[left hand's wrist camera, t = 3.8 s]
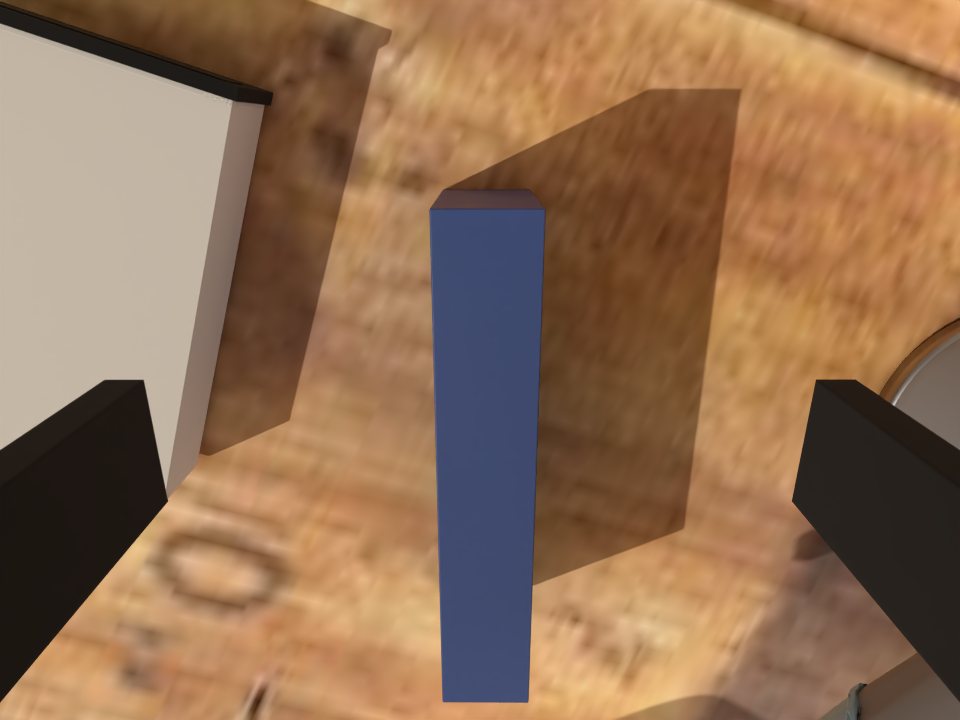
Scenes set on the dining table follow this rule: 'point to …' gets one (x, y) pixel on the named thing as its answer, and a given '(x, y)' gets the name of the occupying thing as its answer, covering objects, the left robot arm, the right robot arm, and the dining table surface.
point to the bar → (486, 434)
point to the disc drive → (116, 225)
